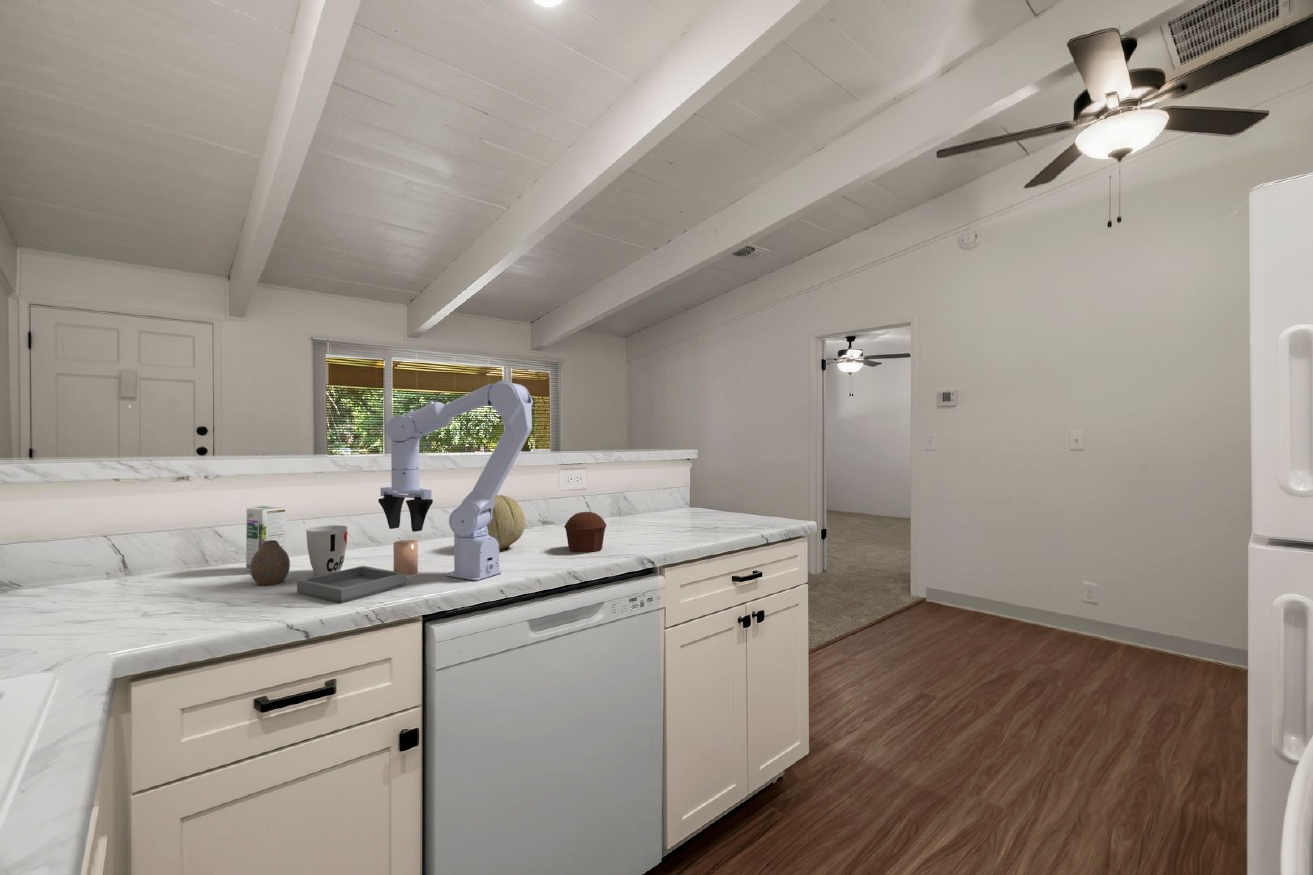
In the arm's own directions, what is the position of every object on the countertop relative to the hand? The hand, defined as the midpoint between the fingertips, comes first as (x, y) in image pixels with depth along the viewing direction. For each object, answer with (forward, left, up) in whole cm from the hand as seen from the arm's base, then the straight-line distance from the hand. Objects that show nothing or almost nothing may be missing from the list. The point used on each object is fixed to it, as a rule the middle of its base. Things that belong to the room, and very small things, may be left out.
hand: (405, 529), depth 128 cm
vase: (+18, +19, -10) cm, 28 cm away
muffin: (-21, -40, -10) cm, 46 cm away
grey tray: (-2, +14, -10) cm, 17 cm away
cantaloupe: (+1, -30, -10) cm, 32 cm away
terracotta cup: (0, 0, -10) cm, 10 cm away
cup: (+16, +8, -10) cm, 20 cm away
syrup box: (+31, +13, -10) cm, 35 cm away
